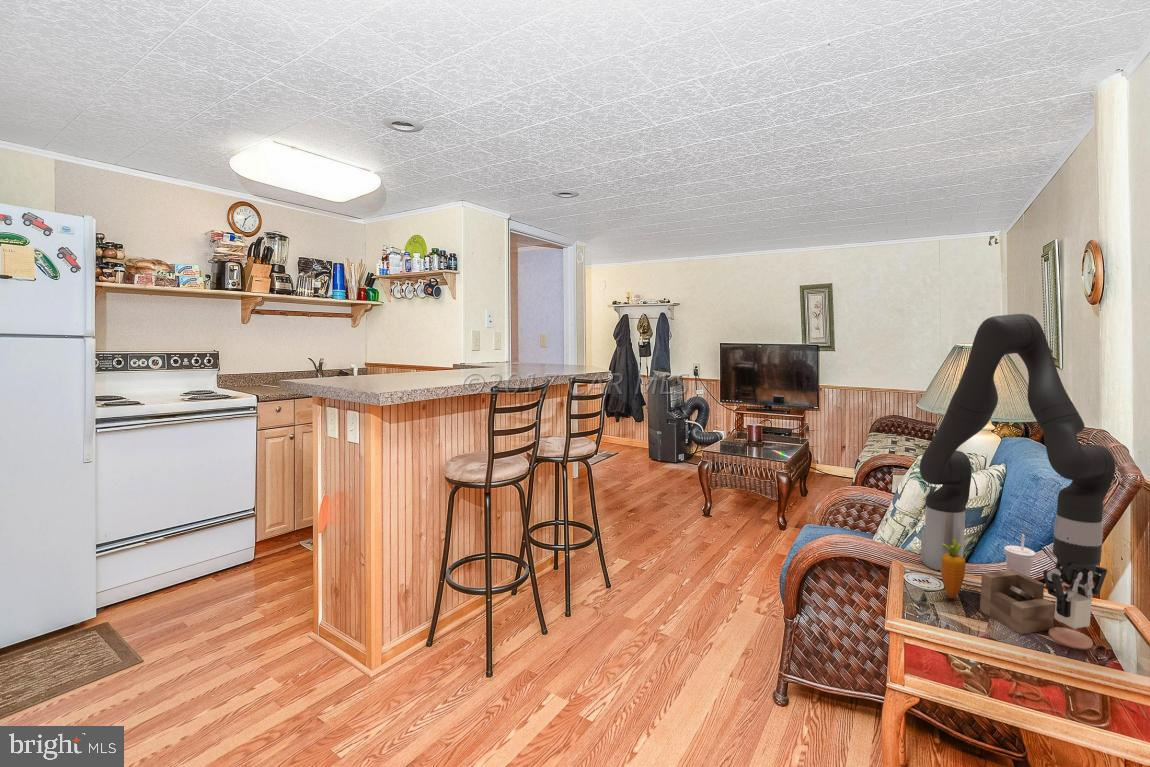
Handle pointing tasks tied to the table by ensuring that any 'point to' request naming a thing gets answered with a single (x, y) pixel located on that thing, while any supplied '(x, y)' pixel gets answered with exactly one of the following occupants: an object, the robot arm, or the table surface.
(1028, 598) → the dark grey long block
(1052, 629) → the terracotta dish
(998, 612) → the box
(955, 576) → the carrot
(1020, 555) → the smoothie
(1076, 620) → the cream block
